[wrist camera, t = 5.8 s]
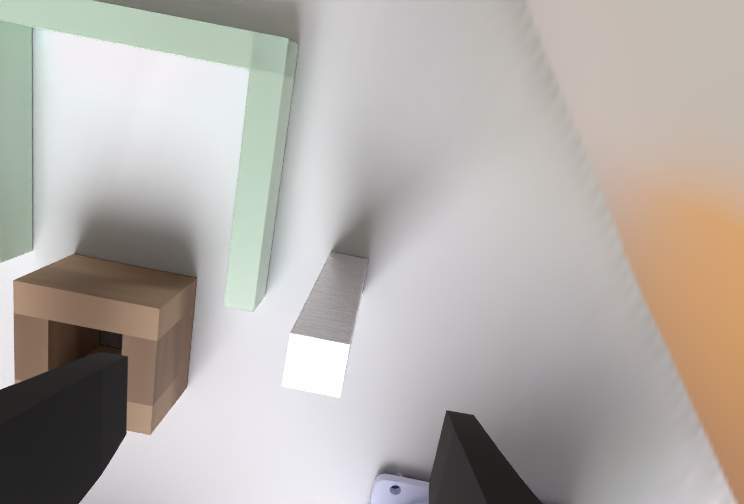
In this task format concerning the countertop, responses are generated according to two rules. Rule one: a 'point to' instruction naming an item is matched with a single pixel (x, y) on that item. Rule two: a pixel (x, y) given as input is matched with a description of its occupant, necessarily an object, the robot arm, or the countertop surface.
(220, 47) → the green u-shaped bracket
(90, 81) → the countertop surface
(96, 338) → the walnut block
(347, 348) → the grey upright post
